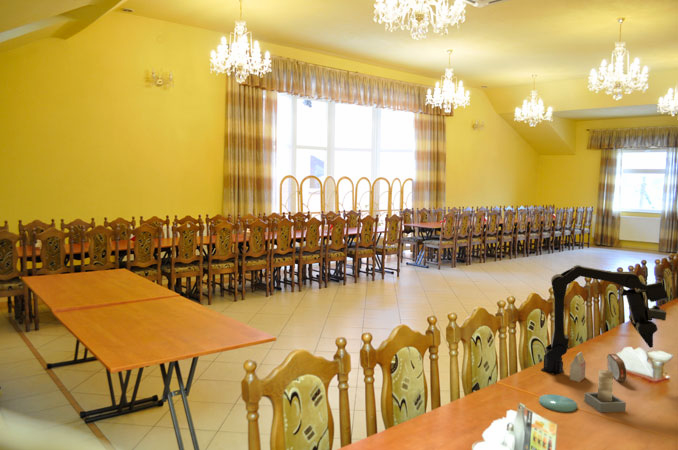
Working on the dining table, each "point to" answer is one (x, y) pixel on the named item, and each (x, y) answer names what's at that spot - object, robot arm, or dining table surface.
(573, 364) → the milk carton
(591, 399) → the pocket
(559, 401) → the saucer
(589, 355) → the dining table surface
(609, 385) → the peg
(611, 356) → the tin
